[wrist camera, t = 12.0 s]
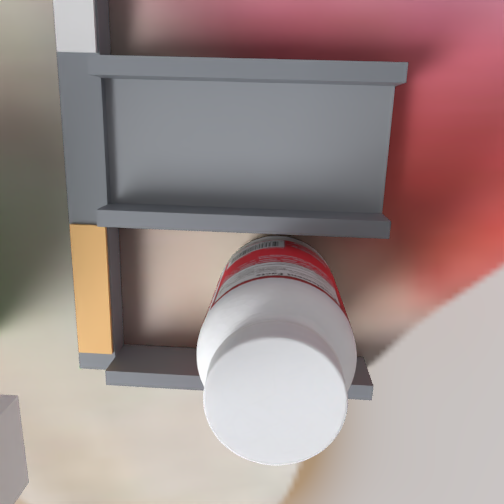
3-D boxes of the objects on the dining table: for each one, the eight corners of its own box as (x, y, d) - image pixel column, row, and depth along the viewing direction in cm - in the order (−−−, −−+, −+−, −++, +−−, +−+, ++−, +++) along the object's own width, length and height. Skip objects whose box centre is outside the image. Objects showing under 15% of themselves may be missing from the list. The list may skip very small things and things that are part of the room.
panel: (57, -139, 21) (22, -180, 18) (412, -138, 20) (434, -180, 18) (90, 355, 28) (68, 382, 25) (361, 370, 27) (371, 400, 24)
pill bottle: (295, 359, 27) (305, 515, 16) (200, 306, 26) (146, 431, 16) (357, 269, 25) (412, 376, 15) (257, 210, 25) (239, 278, 14)
